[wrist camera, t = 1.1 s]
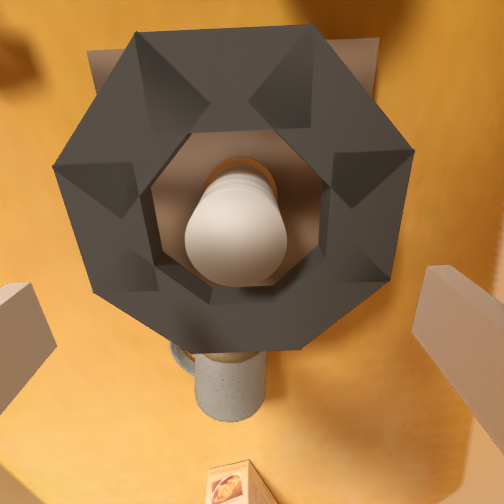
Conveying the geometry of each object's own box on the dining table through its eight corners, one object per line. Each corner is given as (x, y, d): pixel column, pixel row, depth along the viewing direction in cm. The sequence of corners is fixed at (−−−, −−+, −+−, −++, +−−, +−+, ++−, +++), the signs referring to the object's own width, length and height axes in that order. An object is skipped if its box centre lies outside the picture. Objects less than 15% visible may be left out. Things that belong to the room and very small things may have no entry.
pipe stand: (99, 55, 22) (-72, -9, 10) (368, 43, 22) (510, -37, 10) (150, 284, 30) (90, 393, 19) (343, 276, 30) (403, 381, 19)
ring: (39, 46, 14) (8, 36, 12) (416, 28, 14) (441, 16, 12) (124, 337, 22) (113, 357, 20) (367, 327, 22) (377, 347, 20)
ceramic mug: (266, 309, 32) (269, 364, 25) (264, 364, 36) (266, 426, 29) (169, 308, 32) (146, 362, 25) (176, 363, 36) (158, 424, 29)
